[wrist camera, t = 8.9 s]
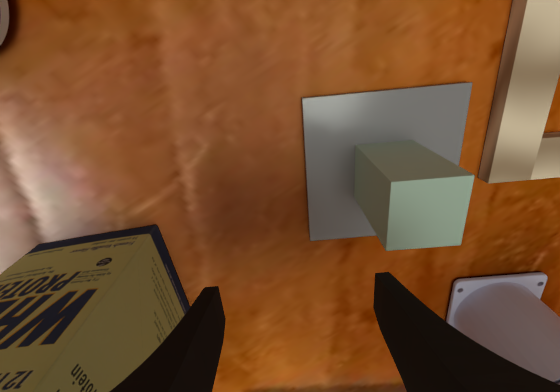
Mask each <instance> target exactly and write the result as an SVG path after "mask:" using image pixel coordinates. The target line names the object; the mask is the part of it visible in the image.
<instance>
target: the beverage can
mask: <svg viewBox="0 0 560 392" xmlns="http://www.w3.org/2000/svg"><path fill="white" fill-rule="evenodd" d="M8 26H9V6H8V1H7V0H0V45H1V44H2V43H3V41H4V39H5V37H6V34H7V31H8Z"/></svg>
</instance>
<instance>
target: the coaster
mask: <svg viewBox="0 0 560 392" xmlns="http://www.w3.org/2000/svg"><path fill="white" fill-rule="evenodd" d="M471 88H472V82H460V83H449V84H439V85H428V86H418V87H407V88H397V89H386V90H376V91H365V92H355V93H344V94H334V95H324V96H313V97H303V98H302V114H303V132H304V149H305V167H306V184H307V202H308V220H309V237H310V241H316V240H328V239H339V238H351V237H363V236H375V235H376V233H375V231H374V230H373V228H372V226H371V224H370V223H369V221H368V219H367V218H366V216H365V214H364V213H363V211H362V209H361V208H360V206H359V204H358V202H357V201H356V199H355V197H354V187H355V145H361V144H373V143H385V142H396V141H408V140H414V141H416V142H417V143H419V144H421V145H423V146H424V147H426V148H428V149H430V150H431V151H433V152H435V153H437V154H438V155H440V156H442V157H444V158H445V159H447V160H449V161H451V162H452V163H454V164H456V165H458V166H459V160H460V154H461V148H462V142H463V136H464V130H465V124H466V118H467V112H468V106H469V100H470V94H471Z"/></svg>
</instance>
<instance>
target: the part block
mask: <svg viewBox="0 0 560 392" xmlns="http://www.w3.org/2000/svg"><path fill="white" fill-rule="evenodd" d="M474 176H475V175H473V174H472V173H470V172H468V171H466V170H465V169H463V168H461V167H459V166H458V165H456V164H454V163H452V162H451V161H449V160H447V159H445V158H444V157H442V156H440V155H438V154H437V153H435V152H433V151H431V150H430V149H428V148H426V147H424V146H423V145H421V144H419V143H417V142H416V141H414V140H408V141H396V142H385V143H373V144H361V145H355V187H354V197H355V199H356V201H357V202H358V204H359V206H360V208H361V209H362V211H363V213H364V214H365V216H366V218H367V219H368V221H369V223H370V224H371V226H372V228H373V230H374V231H375V233H376V235H377V236H378V238H379V240H380V241H381V243H382V245H383V247H384V248H385V250H386V251H390V250H403V249H416V248H428V247H441V246H454V245H461V241H462V236H463V231H464V226H465V221H466V216H467V211H468V206H469V201H470V196H471V191H472V186H473V181H474Z"/></svg>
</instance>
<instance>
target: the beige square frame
mask: <svg viewBox="0 0 560 392" xmlns="http://www.w3.org/2000/svg"><path fill="white" fill-rule="evenodd" d="M559 74H560V0H513V2H512V8H511V13H510V18H509V23H508V28H507V33H506V38H505V43H504V48H503V53H502V58H501V63H500V68H499V73H498V78H497V84H496V89H495V94H494V99H493V104H492V109H491V114H490V119H489V124H488V129H487V134H486V139H485V144H484V149H483V154H482V159H481V165H480V170H479V175H478V178H480V179H481V180H483V181H485V182H487V183H498V182H510V181H521V180H532V179H544V178H555V177H560V132H551V133H543V132H544V128H545V125H546V121H547V118H548V114H549V110H550V107H551V103H552V99H553V96H554V92H555V89H556V85H557V81H558V78H559Z"/></svg>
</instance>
